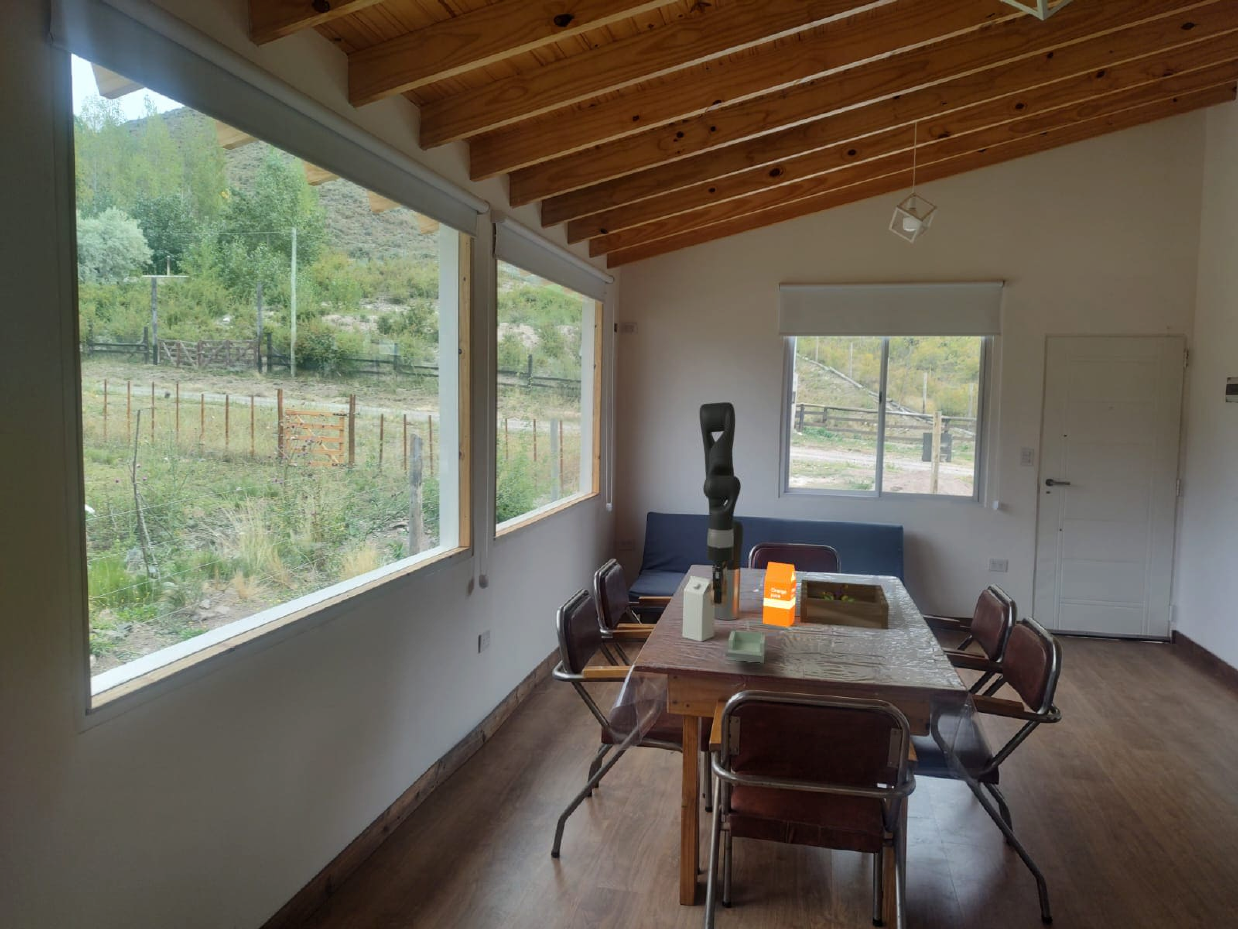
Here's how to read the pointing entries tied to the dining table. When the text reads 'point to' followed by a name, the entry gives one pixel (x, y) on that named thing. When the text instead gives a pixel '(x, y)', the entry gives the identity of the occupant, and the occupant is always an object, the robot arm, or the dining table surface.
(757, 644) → the crate
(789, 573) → the orange juice
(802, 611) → the planter frame
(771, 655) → the dining table surface
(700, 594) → the milk carton
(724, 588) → the brown ridged cylinder
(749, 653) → the panel
